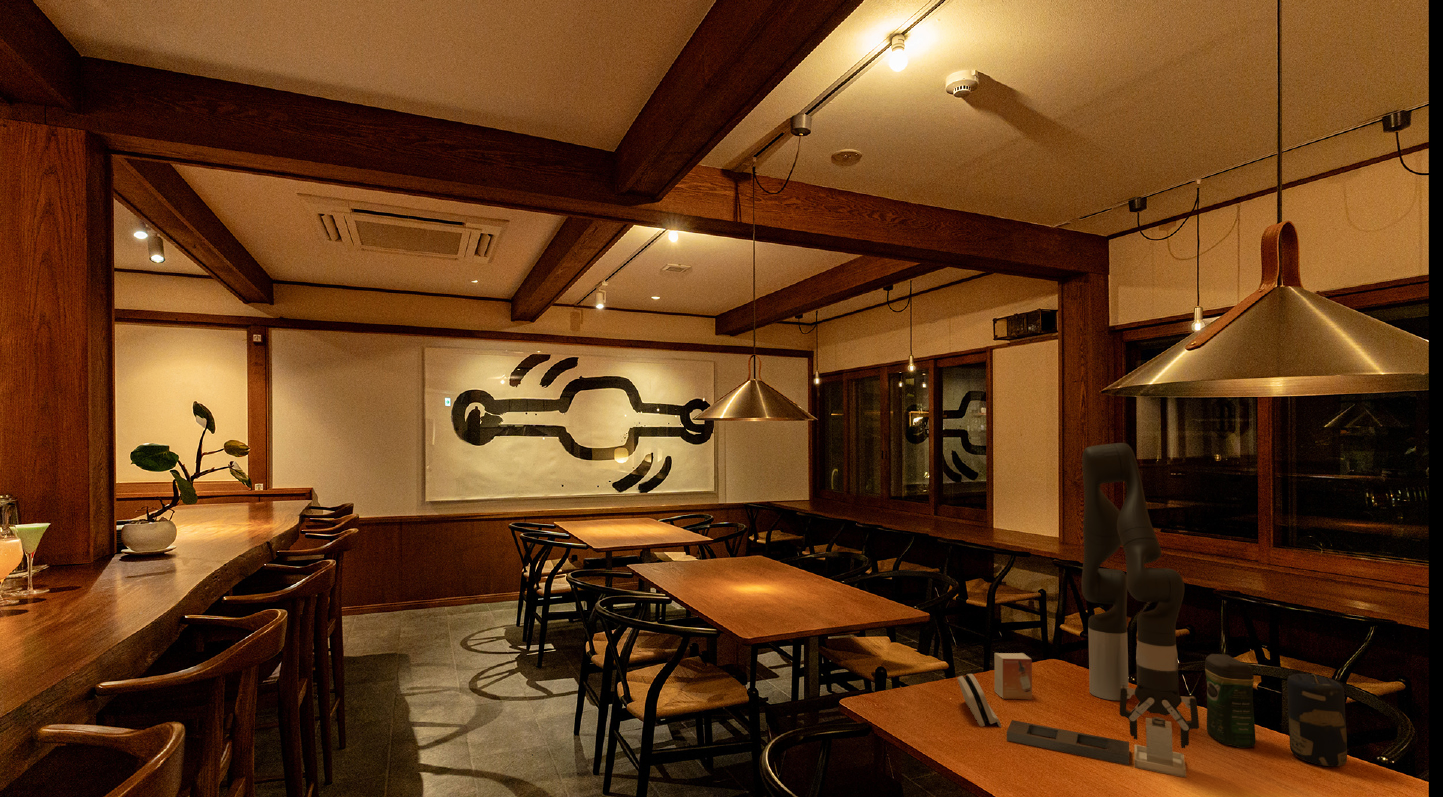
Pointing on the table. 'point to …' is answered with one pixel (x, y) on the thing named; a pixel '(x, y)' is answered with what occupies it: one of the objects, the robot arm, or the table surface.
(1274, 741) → the table surface
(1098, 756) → the rack rail
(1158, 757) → the grey rectangular block
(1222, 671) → the coffee jar
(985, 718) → the beige device enclosure
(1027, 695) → the small box
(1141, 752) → the parts tray
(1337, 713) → the canister
